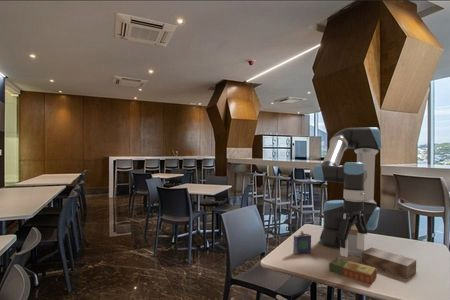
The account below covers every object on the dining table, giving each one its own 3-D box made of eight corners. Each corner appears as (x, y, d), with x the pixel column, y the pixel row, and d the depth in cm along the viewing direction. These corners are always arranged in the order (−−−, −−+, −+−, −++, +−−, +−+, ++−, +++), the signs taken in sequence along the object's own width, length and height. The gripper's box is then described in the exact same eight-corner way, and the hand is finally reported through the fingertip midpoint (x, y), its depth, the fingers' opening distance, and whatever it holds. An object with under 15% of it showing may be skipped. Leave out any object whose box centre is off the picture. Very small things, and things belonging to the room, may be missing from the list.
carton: (371, 285, 102) (371, 274, 102) (328, 272, 113) (328, 262, 113) (376, 277, 109) (376, 267, 109) (335, 266, 119) (336, 256, 119)
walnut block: (361, 263, 122) (361, 252, 122) (371, 257, 128) (371, 247, 128) (407, 278, 108) (407, 266, 108) (416, 271, 114) (416, 260, 114)
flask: (294, 255, 130) (295, 232, 130) (291, 253, 133) (292, 231, 133) (311, 253, 132) (312, 231, 132) (308, 251, 135) (308, 229, 135)
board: (341, 250, 137) (342, 217, 137) (363, 253, 133) (364, 220, 133) (341, 253, 133) (341, 219, 133) (364, 257, 129) (364, 222, 129)
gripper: (346, 204, 100) (345, 262, 100) (376, 198, 115) (375, 249, 115) (328, 201, 106) (327, 255, 106) (359, 196, 121) (358, 244, 121)
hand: (352, 252), depth 110 cm, fingers open, 13 cm apart
